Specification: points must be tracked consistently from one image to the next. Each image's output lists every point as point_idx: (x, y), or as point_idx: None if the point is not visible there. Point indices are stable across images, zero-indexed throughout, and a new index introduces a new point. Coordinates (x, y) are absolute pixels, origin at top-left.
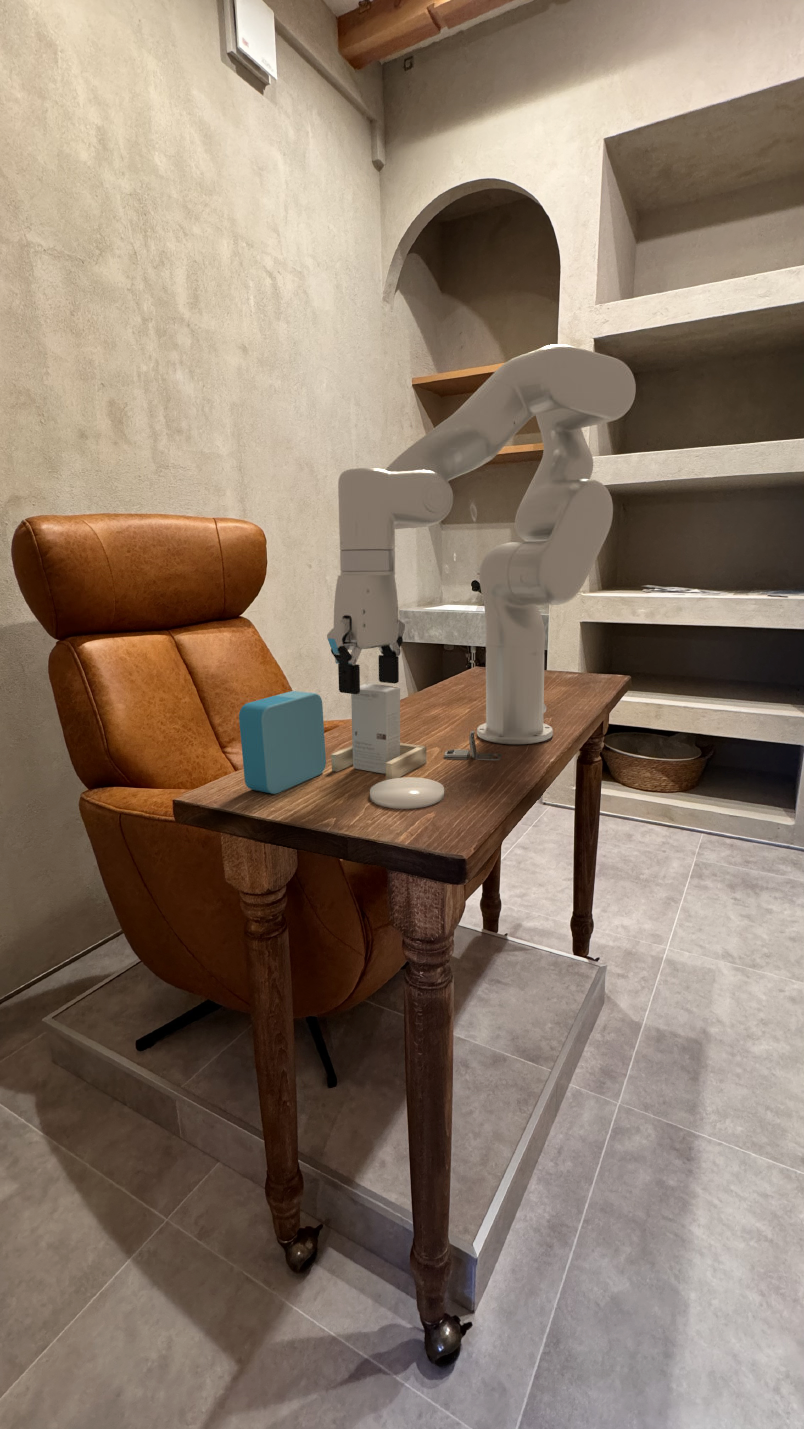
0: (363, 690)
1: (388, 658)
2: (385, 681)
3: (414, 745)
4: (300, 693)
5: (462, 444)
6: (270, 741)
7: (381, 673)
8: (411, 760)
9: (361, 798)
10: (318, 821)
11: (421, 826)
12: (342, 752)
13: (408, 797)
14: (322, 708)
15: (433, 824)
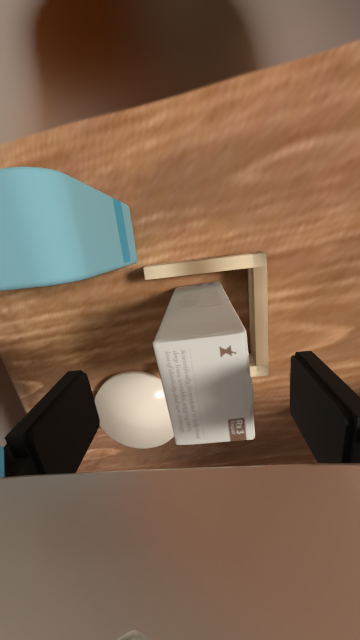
0: (162, 383)
1: (336, 462)
2: (291, 378)
3: (264, 356)
4: (4, 241)
5: None
6: None
7: (304, 380)
8: None
9: (98, 373)
10: (25, 377)
11: (87, 457)
12: (163, 277)
13: (118, 427)
14: (93, 276)
15: (97, 462)
